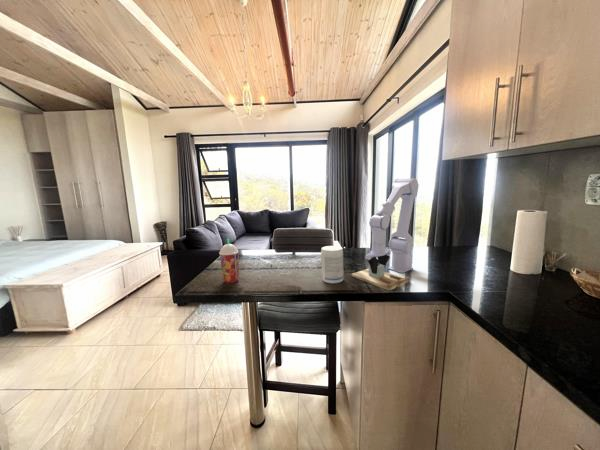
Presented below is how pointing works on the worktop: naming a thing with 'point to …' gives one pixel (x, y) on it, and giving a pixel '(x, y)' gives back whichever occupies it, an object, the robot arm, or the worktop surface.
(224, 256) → the smoothie
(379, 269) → the cabinet block
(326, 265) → the supplement tub
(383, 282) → the wall board
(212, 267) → the worktop surface
